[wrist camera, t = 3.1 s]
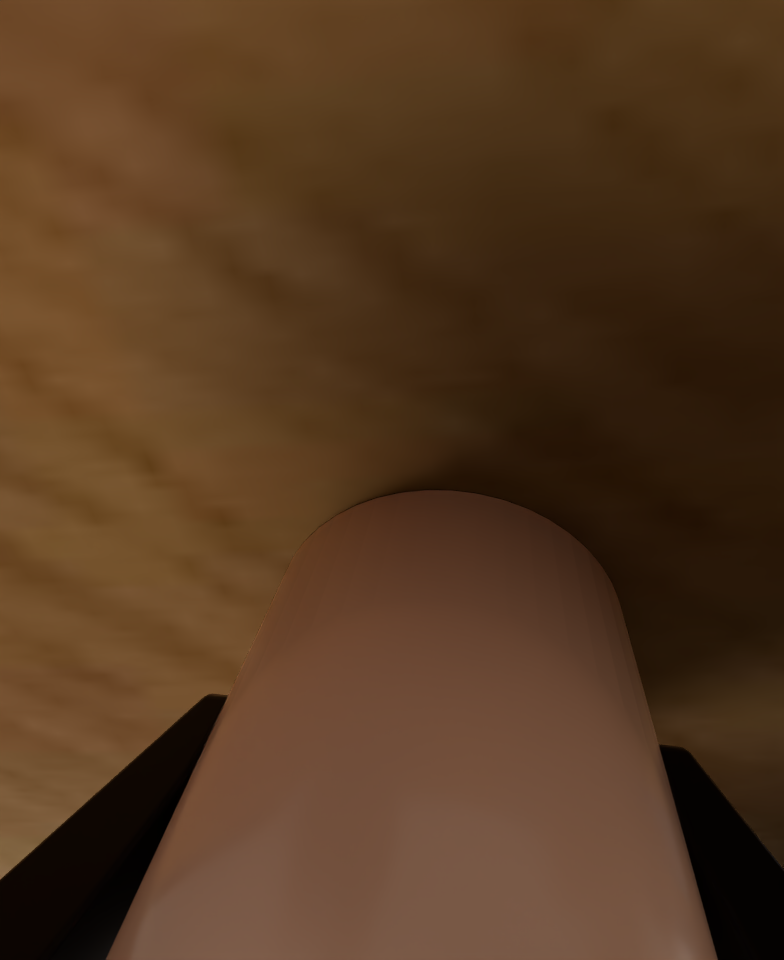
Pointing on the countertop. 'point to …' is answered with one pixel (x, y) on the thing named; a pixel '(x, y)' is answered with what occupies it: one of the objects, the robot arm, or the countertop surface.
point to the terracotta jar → (429, 762)
